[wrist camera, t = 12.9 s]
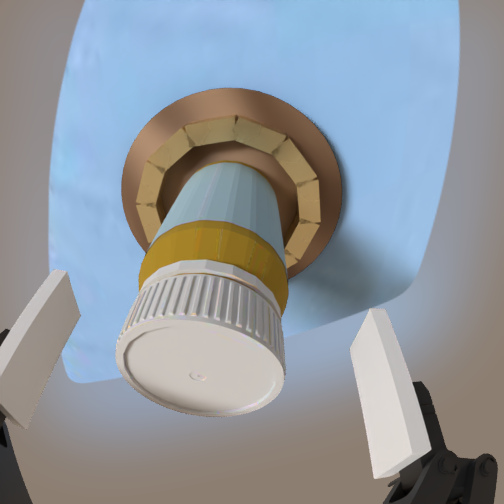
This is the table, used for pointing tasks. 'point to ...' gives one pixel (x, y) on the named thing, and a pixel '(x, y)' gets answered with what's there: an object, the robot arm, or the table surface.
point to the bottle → (211, 299)
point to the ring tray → (243, 150)
